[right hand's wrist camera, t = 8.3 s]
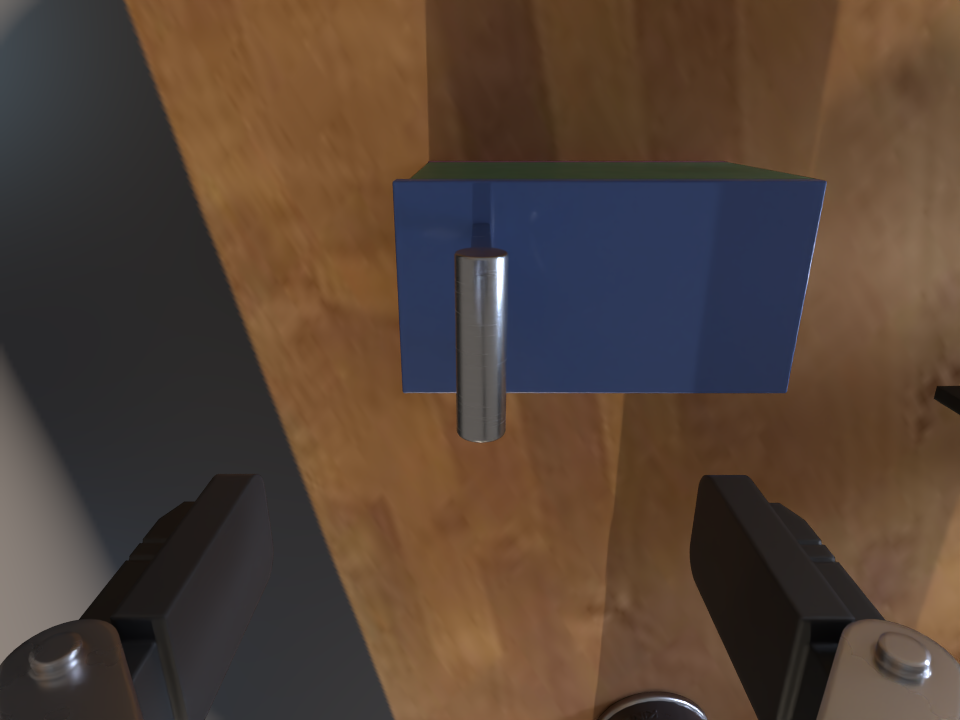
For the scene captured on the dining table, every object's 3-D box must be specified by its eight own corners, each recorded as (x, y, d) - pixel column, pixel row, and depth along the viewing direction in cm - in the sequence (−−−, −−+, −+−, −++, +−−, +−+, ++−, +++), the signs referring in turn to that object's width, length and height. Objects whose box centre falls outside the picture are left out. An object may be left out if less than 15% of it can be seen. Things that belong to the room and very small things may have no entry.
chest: (433, 316, 38) (417, 386, 29) (429, 161, 35) (408, 178, 25) (702, 317, 38) (778, 386, 29) (723, 161, 35) (817, 178, 25)
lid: (404, 386, 28) (377, 482, 21) (394, 178, 25) (358, 205, 18) (779, 386, 28) (885, 483, 21) (817, 178, 25) (960, 205, 18)
